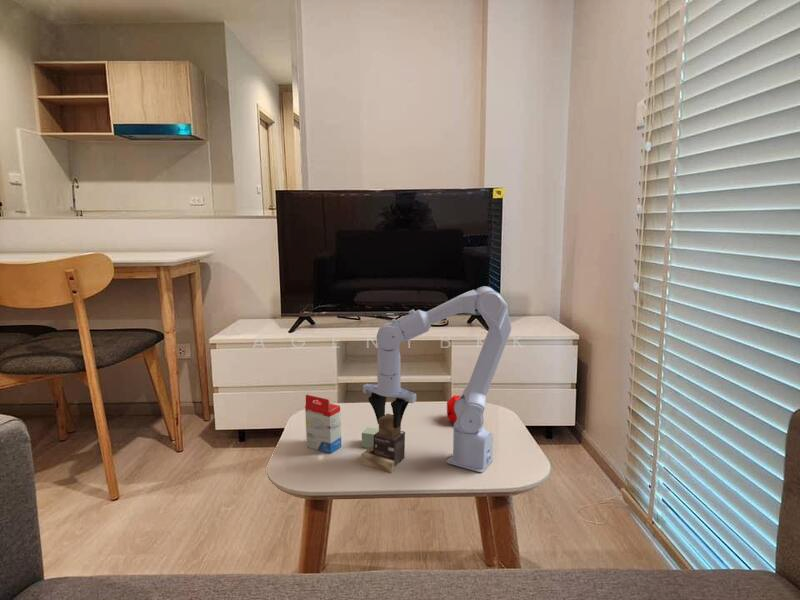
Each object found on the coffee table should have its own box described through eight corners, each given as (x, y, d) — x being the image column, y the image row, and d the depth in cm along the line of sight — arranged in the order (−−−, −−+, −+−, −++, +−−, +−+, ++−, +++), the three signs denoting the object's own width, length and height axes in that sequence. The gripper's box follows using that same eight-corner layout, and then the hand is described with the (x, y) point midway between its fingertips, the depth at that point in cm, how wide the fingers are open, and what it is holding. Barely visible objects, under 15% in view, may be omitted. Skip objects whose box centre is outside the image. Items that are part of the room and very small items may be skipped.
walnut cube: (400, 431, 120) (400, 416, 120) (392, 437, 117) (392, 422, 116) (387, 428, 122) (387, 413, 122) (378, 433, 119) (378, 418, 118)
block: (380, 442, 130) (380, 428, 130) (375, 448, 127) (375, 434, 126) (367, 440, 132) (367, 427, 131) (361, 447, 128) (361, 432, 127)
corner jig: (410, 457, 122) (410, 448, 121) (391, 472, 114) (391, 463, 114) (381, 449, 126) (381, 440, 126) (361, 463, 119) (361, 453, 118)
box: (372, 462, 119) (372, 435, 118) (384, 453, 124) (384, 426, 123) (394, 468, 116) (394, 440, 115) (405, 458, 121) (405, 431, 120)
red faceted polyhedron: (446, 416, 149) (446, 393, 148) (472, 417, 148) (472, 393, 147) (447, 427, 141) (448, 402, 140) (475, 427, 140) (475, 402, 139)
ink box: (342, 447, 128) (341, 394, 125) (330, 454, 123) (329, 400, 121) (317, 440, 132) (316, 389, 130) (305, 446, 128) (303, 394, 126)
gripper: (422, 372, 117) (422, 425, 119) (373, 364, 124) (374, 413, 126) (408, 380, 111) (407, 435, 113) (357, 370, 118) (358, 422, 120)
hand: (389, 424), depth 119 cm, fingers open, 4 cm apart
